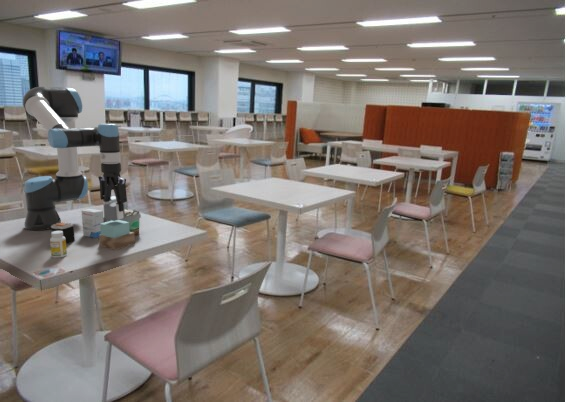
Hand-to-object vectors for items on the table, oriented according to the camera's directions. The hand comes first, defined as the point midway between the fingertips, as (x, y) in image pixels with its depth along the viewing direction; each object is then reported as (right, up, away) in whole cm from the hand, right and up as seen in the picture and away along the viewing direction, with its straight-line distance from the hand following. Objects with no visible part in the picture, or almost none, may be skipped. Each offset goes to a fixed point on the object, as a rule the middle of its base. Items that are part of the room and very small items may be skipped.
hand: (115, 217), depth 171 cm
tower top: (0, -7, +1) cm, 7 cm away
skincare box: (-18, -1, +44) cm, 48 cm away
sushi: (-24, -11, +5) cm, 27 cm away
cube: (0, 0, 0) cm, 0 cm away
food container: (+2, -9, +16) cm, 18 cm away
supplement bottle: (-17, -15, -11) cm, 25 cm away
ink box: (-15, -9, +14) cm, 22 cm away
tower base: (0, -12, +3) cm, 12 cm away
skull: (-7, -5, +31) cm, 32 cm away
